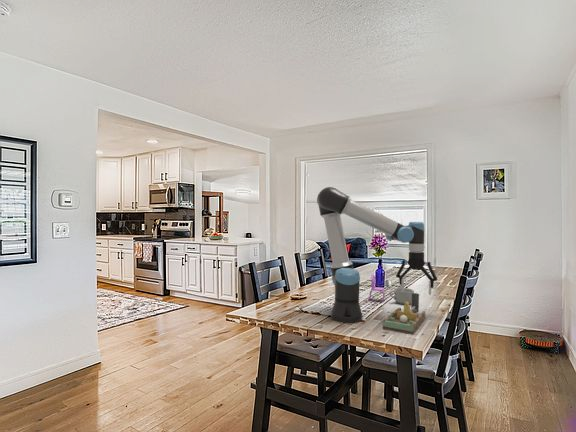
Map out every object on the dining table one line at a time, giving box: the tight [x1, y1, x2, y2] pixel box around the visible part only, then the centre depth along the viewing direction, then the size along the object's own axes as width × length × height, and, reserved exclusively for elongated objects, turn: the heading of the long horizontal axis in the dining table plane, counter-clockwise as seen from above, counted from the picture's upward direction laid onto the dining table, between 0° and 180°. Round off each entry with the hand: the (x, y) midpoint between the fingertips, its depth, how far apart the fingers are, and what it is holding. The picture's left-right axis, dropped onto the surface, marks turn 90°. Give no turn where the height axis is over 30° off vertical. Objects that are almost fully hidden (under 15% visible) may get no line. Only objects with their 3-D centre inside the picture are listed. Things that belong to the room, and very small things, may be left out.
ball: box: [400, 315, 408, 323], centre depth 169 cm, size 4×4×4 cm
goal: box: [382, 317, 414, 331], centre depth 163 cm, size 8×13×2 cm, turn 60°
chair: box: [367, 274, 386, 303], centre depth 216 cm, size 8×9×15 cm
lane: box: [382, 307, 427, 335], centre depth 172 cm, size 28×13×4 cm, turn 150°
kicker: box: [397, 292, 420, 320], centre depth 183 cm, size 21×9×9 cm, turn 149°
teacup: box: [388, 287, 415, 305], centre depth 212 cm, size 14×11×8 cm
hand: (416, 292), depth 191 cm, fingers open, 13 cm apart
